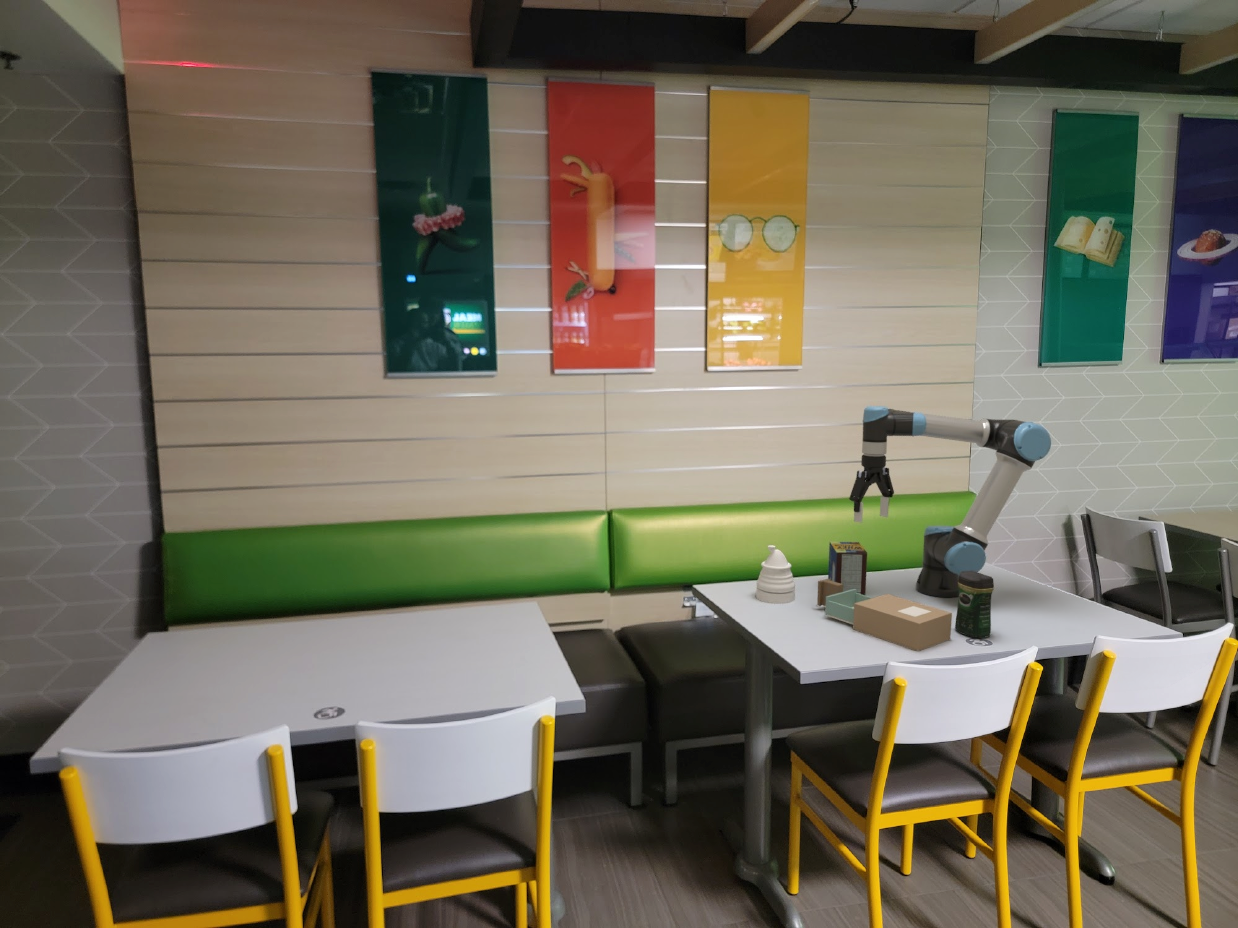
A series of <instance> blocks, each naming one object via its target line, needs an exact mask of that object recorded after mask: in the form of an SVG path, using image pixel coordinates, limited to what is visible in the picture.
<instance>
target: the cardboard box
mask: <svg viewBox="0 0 1238 928" xmlns="http://www.w3.org/2000/svg"><path fill="white" fill-rule="evenodd" d="M952 618H953V612H951V611H946V610H944V609H940V608H937V607H933V606H929V605H926V604H923V603H920V602H915V601H912V600H909V599H906V598H905V599H904V598H902V597H898V596H895V595H892V594H888V593H886V594H883V595H880V596H876V597H872V598H871V599H868V600H864V601H861V602H858V603H854V618H853V624H852V630H854V631H857V632H861V633H863V634H865V635H869V636H872V637H874V638H875V637H876V638H878V639H880V640H884V641H887V642H890V643H893V644H896V645H898V646H901V647H905V648H907V649H909V650H913V651H916V652H919V651H922V650H925V649H928V648H931V647H934V646H937V645H938V644H941V643H944V642H947V641H950V640H951V635H952V633H951V631H952Z"/></svg>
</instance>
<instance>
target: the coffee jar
mask: <svg viewBox="0 0 1238 928" xmlns="http://www.w3.org/2000/svg"><path fill="white" fill-rule="evenodd" d="M994 586H995V583H994V578H993V577H992V576H990V575H987V574H983V573H980V572H975V571H973V570H970V571H962V572H961V573H960V575H959V579H958V587H959V596H958V603H957V609H956V616H955V624H954V625H955V626H954V629H955V631H957V632H958V633H960V634H963V635H965V636H968V637H969V638H979V639H985V638H987V637H989V636H991V635H992V634H991V633H992V632H991V630H992V628H991V627H992V623H991V622H992V621H991V620H992V618H991V617H992V615H991V611H992V610H991V609H992V608H991V607H992V606H991V605H992V595H993V592H994V591H995V590H994V589H995V587H994Z"/></svg>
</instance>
